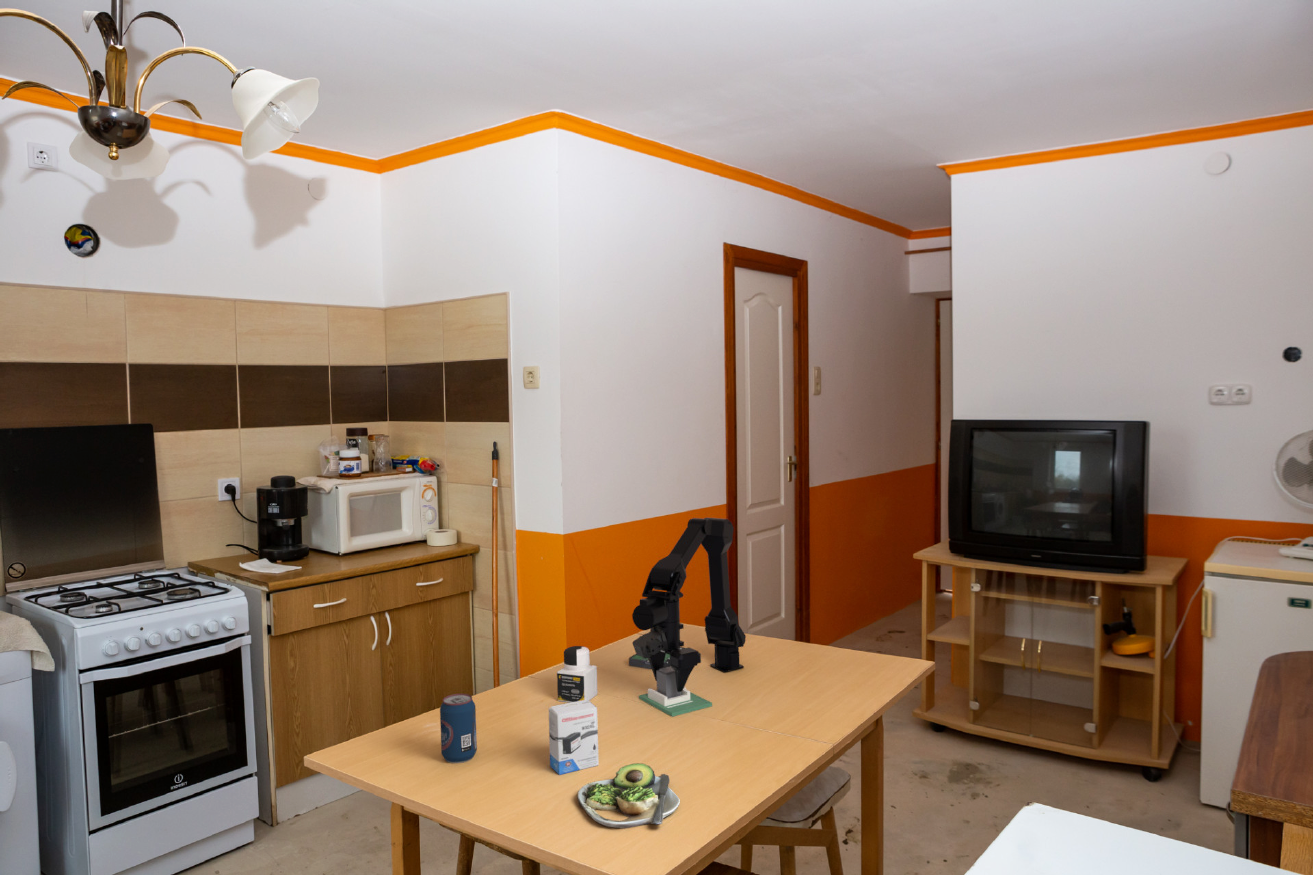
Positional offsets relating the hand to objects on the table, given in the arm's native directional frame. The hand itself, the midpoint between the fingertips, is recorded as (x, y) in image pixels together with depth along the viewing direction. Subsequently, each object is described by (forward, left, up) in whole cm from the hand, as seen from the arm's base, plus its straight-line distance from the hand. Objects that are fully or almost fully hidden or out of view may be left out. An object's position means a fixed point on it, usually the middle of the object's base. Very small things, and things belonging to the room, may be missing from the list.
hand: (668, 685), depth 204 cm
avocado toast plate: (+37, -33, -4) cm, 50 cm away
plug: (0, 0, -3) cm, 3 cm away
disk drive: (-27, +15, -4) cm, 32 cm away
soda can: (+1, -51, -4) cm, 51 cm away
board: (+1, +1, -4) cm, 4 cm away
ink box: (+18, -34, -4) cm, 39 cm away
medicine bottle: (-15, -16, -4) cm, 22 cm away
